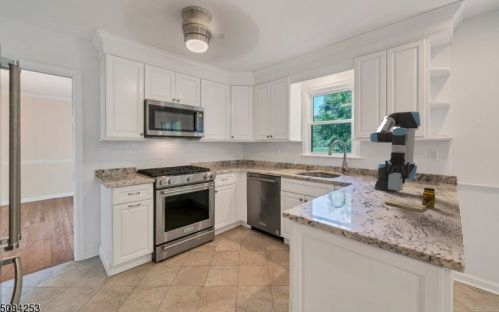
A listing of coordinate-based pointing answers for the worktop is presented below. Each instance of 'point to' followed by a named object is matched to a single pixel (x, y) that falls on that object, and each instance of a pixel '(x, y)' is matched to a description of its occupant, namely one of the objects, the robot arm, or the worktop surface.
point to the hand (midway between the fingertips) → (395, 187)
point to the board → (406, 205)
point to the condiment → (428, 198)
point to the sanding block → (394, 182)
